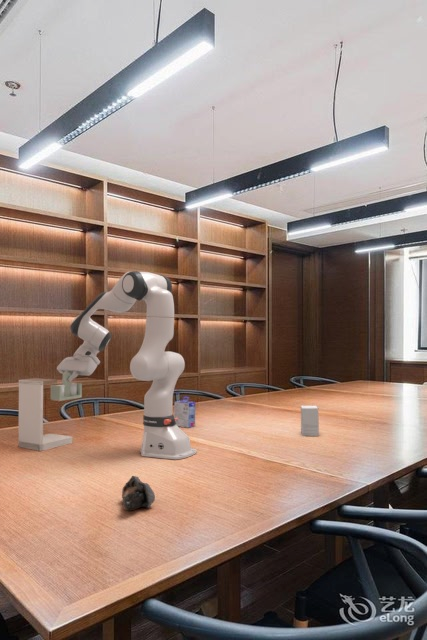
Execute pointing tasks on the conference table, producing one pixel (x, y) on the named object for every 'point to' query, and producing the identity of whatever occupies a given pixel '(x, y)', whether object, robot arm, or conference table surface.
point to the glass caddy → (66, 390)
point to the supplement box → (309, 421)
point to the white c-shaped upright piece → (35, 417)
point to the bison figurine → (137, 494)
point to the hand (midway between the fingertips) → (66, 380)
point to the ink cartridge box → (185, 413)
